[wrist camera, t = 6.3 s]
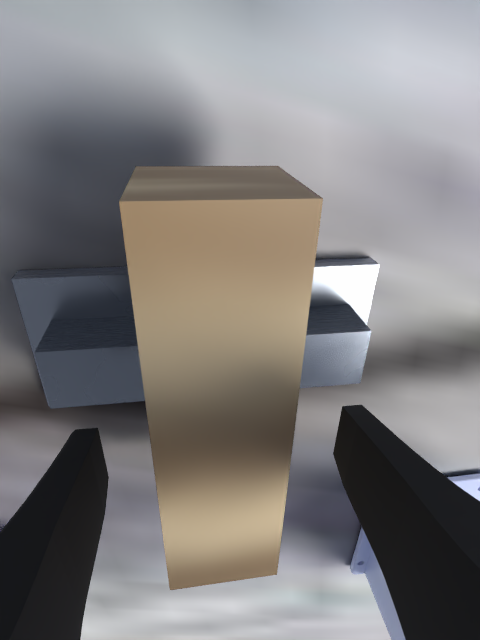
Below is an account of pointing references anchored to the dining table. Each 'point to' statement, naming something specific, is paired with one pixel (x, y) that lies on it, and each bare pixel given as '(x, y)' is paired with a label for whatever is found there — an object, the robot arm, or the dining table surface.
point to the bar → (220, 354)
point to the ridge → (121, 340)
